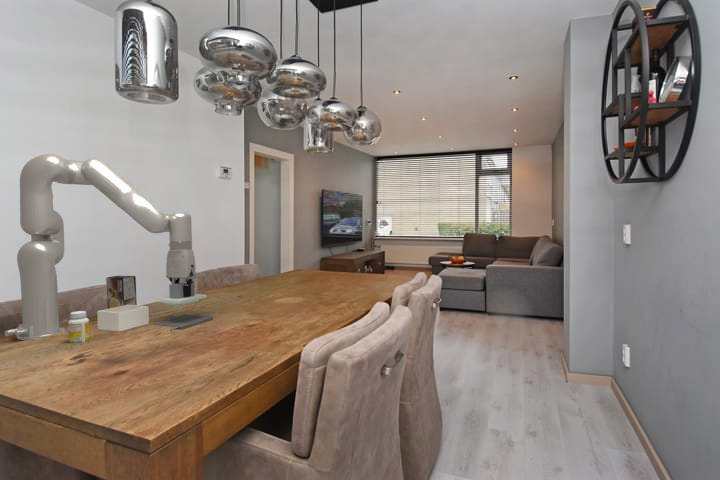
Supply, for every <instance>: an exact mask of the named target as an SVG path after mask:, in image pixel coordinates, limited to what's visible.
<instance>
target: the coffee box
mask: <svg viewBox="0 0 720 480" xmlns="http://www.w3.org/2000/svg"><path fill="white" fill-rule="evenodd" d="M136 279H137V276H136V275H112V276H108V277H105V280H106V281H105V282H106V305H107V307H106V309H110V308H114V307H119V306H124V305H138V302H137V280H136Z"/></svg>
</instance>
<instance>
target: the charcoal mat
mask: <svg viewBox="0 0 720 480" xmlns="http://www.w3.org/2000/svg"><path fill="white" fill-rule="evenodd" d="M210 321H214V316H206V315H196V314H194V315H193V314H186V313H185V314H181V315H178V316H173V317H171V318H166V319H163V320H160V321H157V322H152V323H150V325H154V326H160V327H161V326H163V327H170V328H172V327H173V328H174V330H178V331H179V330H184V329H188V328H191V327H193V326H194V327H195V326H197V325H200V324H204V323H206V322H210Z"/></svg>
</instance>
